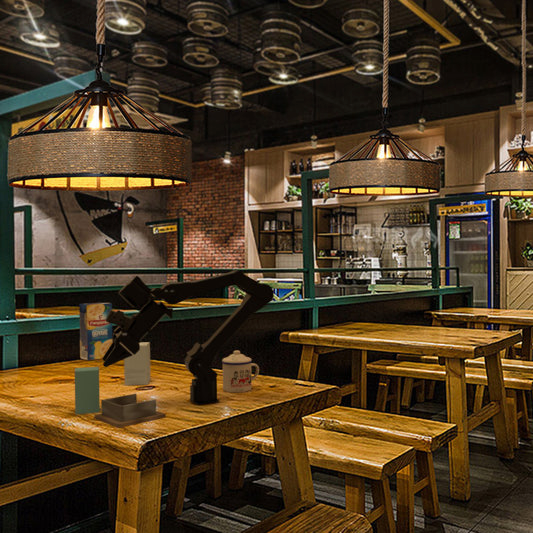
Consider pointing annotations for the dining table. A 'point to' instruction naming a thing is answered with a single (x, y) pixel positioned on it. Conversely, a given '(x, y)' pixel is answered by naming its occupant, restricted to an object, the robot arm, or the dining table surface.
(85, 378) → the teal green rectangular block
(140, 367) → the supplement box
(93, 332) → the beverage box
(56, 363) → the dining table surface
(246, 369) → the teacup with lid
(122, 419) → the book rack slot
